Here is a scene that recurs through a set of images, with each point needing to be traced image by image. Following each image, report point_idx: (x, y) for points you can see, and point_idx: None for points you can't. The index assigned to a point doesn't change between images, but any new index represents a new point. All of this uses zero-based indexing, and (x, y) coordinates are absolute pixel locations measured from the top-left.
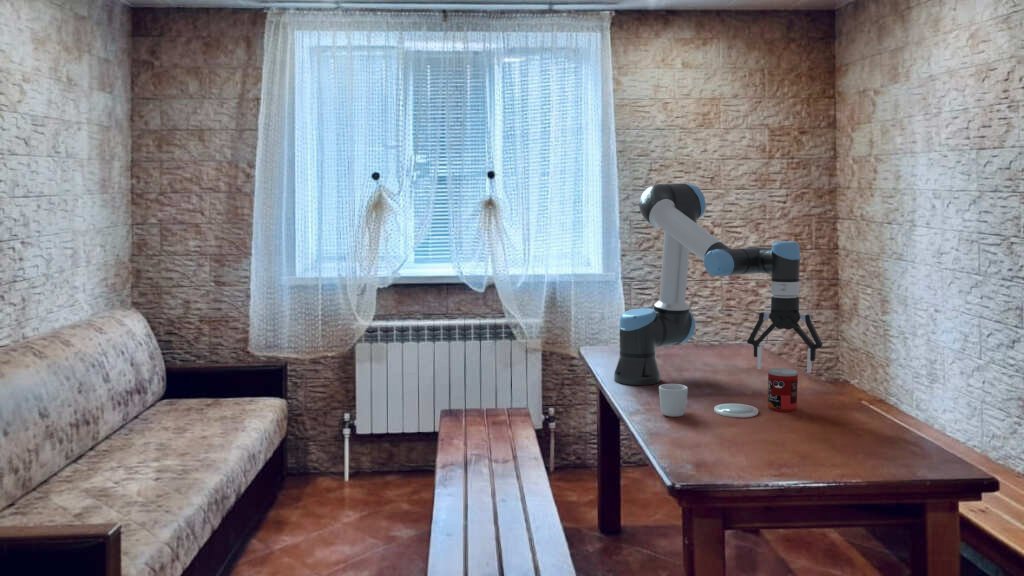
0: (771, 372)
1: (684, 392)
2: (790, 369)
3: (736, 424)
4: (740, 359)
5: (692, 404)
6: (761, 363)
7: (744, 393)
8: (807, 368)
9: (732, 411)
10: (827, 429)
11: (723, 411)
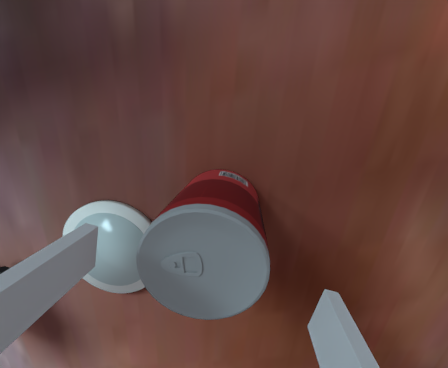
0: (150, 293)
1: None
2: (241, 227)
3: (127, 329)
4: None
5: (10, 197)
6: (80, 246)
7: (112, 31)
8: (316, 349)
9: (106, 274)
10: (300, 344)
11: (88, 273)
